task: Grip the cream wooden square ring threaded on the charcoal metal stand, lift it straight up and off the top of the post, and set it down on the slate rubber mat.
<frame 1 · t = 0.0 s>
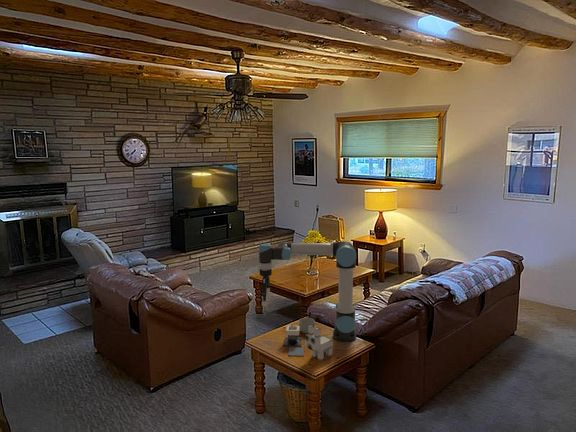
hand: (266, 301, 266), 28 cm above the table, fingers open, 13 cm apart
slate mat: (296, 352, 259), on the table
ring stand: (293, 342, 271), on the table
cream ring: (292, 332, 270), point 7 cm above the table, touching ring stand
teacup: (306, 330, 289), on the table
toy llama: (320, 356, 253), on the table
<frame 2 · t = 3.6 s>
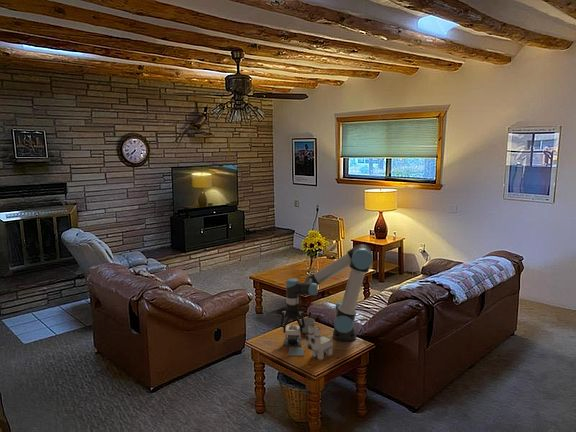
hand: (293, 337, 271), 4 cm above the table, fingers closed on cream ring, 8 cm apart
cream ring: (292, 332, 270), point 7 cm above the table, touching gripper, ring stand
everything else where it was.
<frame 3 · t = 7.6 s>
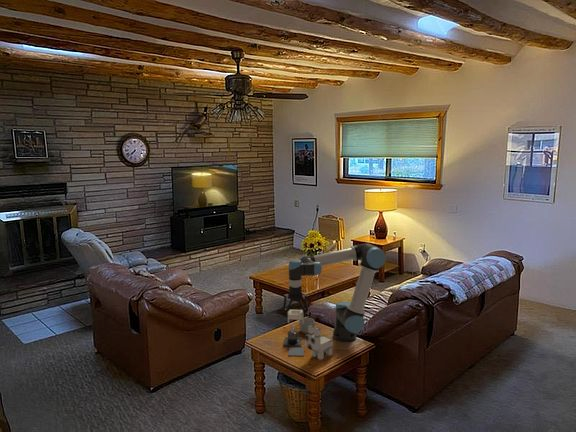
hand: (295, 322, 256), 19 cm above the table, fingers closed on cream ring, 8 cm apart
cream ring: (295, 316, 256), point 22 cm above the table, touching gripper
everything else where it was.
when the fingers open (2 cm above the table, at t = 11.6 s): cream ring drops 5 cm, resting on slate mat.
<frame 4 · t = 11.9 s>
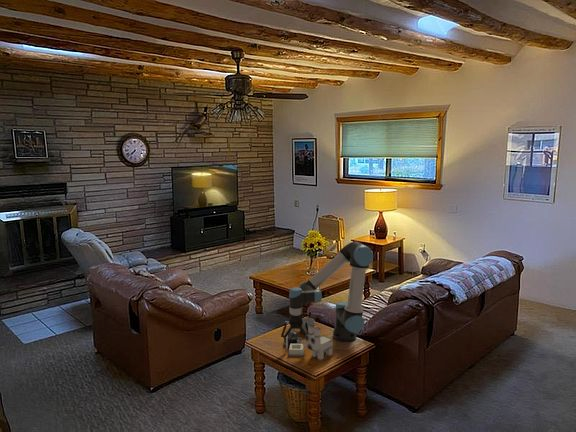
hand: (296, 347, 258), 3 cm above the table, fingers open, 11 cm apart
cream ring: (296, 351, 259), point 1 cm above the table, touching slate mat
everything else where it was.
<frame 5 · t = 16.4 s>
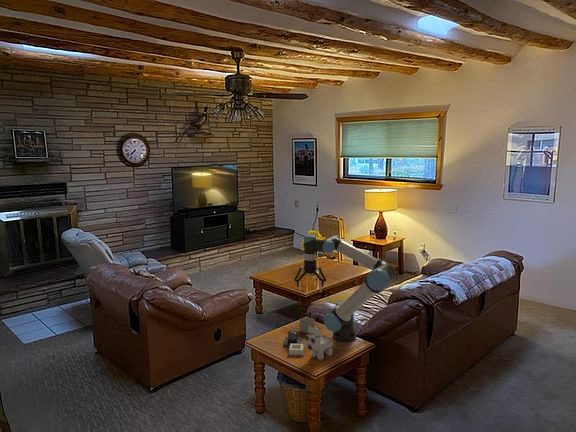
hand: (310, 291, 272), 32 cm above the table, fingers open, 13 cm apart
nothing on the table moved.
at the end: cream ring inside the target area on the slate mat (0.0 cm from its centre), point 0.6 cm above the slate mat's base; the gripper is holding nothing; cream ring tilted 0° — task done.
